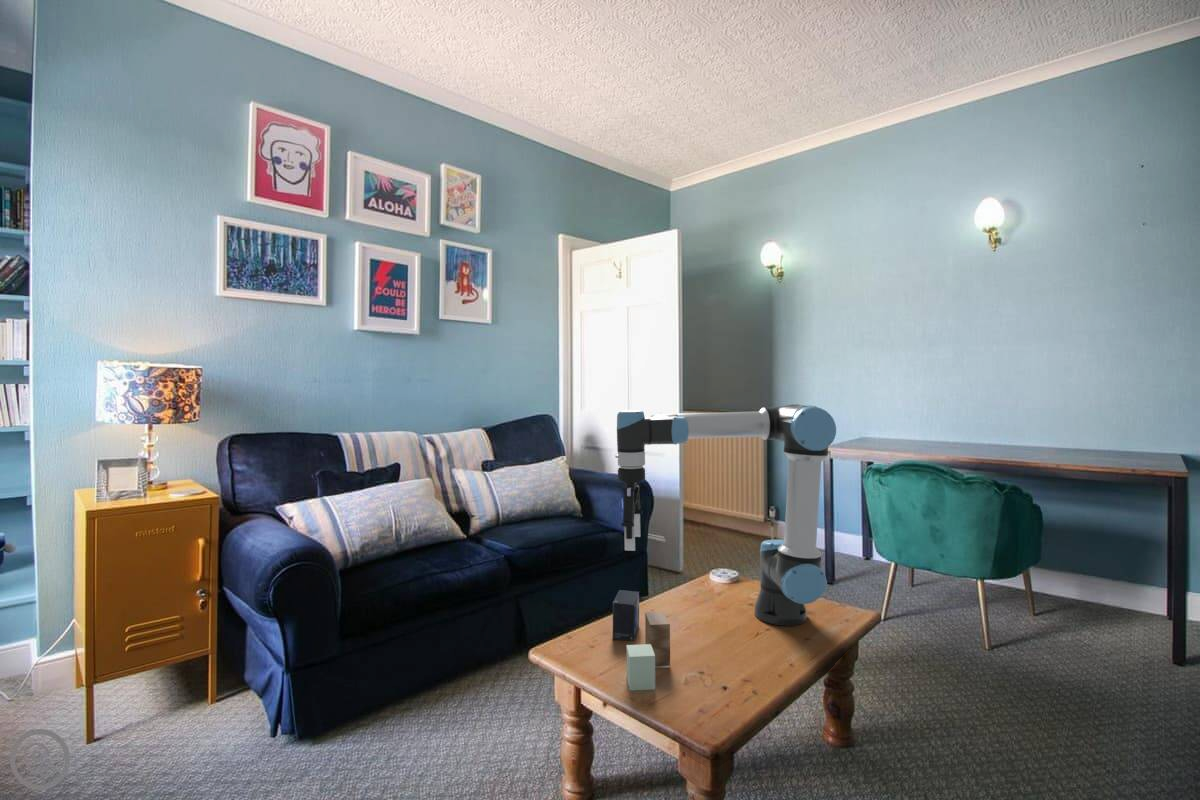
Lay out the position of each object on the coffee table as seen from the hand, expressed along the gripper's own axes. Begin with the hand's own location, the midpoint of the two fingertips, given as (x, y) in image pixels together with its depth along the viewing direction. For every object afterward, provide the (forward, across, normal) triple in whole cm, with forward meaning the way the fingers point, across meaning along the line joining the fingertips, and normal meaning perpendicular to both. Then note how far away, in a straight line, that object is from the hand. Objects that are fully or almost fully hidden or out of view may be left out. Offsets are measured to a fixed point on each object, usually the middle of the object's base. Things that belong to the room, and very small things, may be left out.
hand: (632, 543), depth 161 cm
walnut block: (+27, +11, +7) cm, 30 cm away
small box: (+27, -4, -3) cm, 28 cm away
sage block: (+27, +23, +4) cm, 36 cm away
